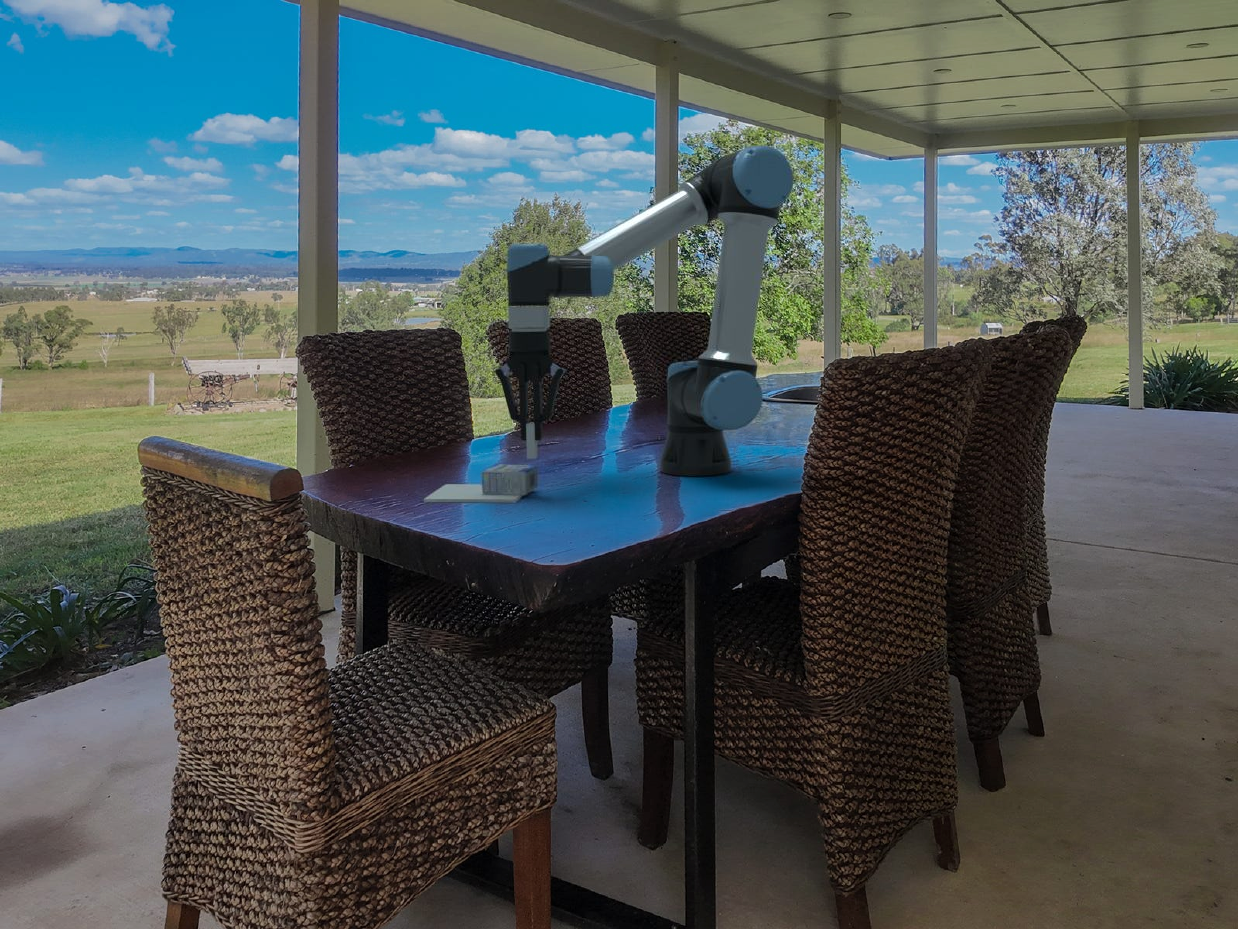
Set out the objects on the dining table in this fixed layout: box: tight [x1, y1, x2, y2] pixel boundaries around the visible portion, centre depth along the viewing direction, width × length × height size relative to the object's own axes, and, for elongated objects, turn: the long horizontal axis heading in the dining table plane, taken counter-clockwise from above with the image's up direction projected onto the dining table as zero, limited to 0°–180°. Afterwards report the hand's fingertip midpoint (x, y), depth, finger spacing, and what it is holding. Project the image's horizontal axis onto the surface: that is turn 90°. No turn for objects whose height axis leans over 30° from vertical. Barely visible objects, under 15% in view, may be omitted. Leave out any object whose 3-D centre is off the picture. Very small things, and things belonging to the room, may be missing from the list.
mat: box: [423, 483, 524, 504], centre depth 192 cm, size 17×15×1 cm
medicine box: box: [481, 463, 538, 496], centre depth 191 cm, size 8×4×9 cm
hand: (532, 457), depth 189 cm, fingers closed
